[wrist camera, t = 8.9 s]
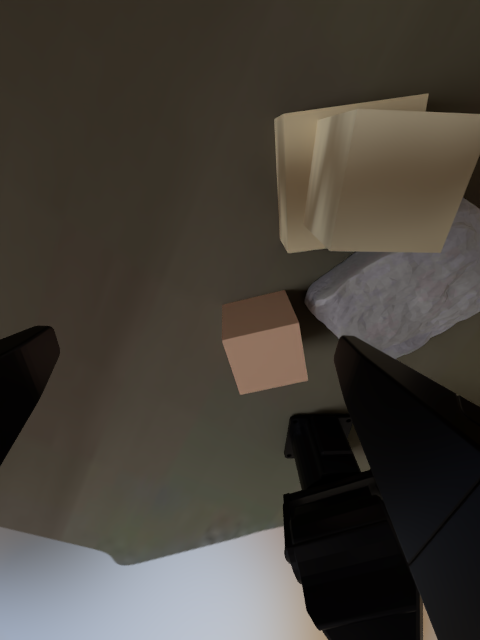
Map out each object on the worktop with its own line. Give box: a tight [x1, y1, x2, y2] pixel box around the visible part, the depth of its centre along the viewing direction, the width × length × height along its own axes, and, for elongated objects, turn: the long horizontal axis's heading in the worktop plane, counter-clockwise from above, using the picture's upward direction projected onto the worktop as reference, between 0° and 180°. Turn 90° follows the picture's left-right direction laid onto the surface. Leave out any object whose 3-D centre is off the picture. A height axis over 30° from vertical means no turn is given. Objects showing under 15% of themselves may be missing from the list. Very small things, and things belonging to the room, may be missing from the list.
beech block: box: [303, 109, 480, 253], centre depth 13 cm, size 5×5×5 cm
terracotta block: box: [222, 290, 308, 395], centre depth 22 cm, size 5×5×5 cm
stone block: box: [304, 198, 480, 359], centre depth 22 cm, size 12×5×10 cm
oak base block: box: [274, 93, 429, 253], centre depth 17 cm, size 7×7×4 cm
